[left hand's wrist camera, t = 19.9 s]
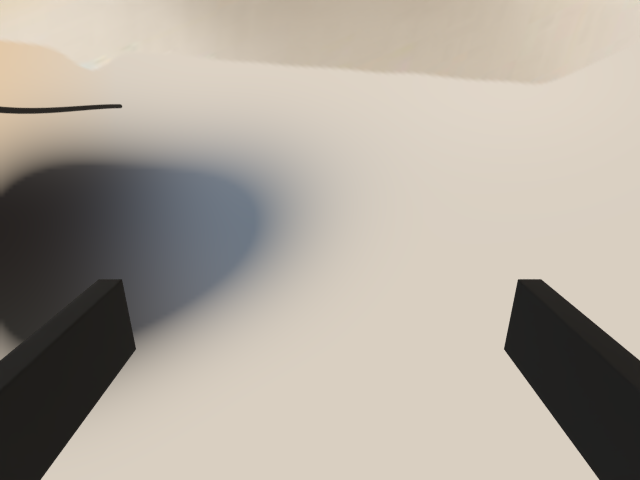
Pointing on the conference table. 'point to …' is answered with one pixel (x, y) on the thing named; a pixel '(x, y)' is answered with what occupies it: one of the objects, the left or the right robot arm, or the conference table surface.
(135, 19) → the conference table surface
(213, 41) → the conference table surface
